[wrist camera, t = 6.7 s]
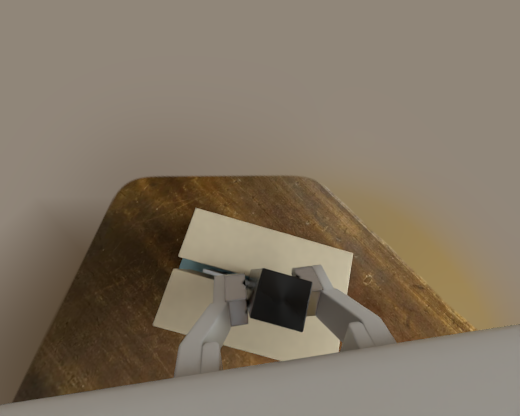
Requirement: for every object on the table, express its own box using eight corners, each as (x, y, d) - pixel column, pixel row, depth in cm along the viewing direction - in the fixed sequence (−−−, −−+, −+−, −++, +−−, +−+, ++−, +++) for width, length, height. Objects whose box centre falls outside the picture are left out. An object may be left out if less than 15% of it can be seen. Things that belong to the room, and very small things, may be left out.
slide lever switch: (162, 317, 20) (129, 338, 14) (200, 212, 23) (186, 190, 17) (313, 359, 21) (347, 398, 14) (332, 251, 24) (368, 243, 17)
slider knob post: (208, 280, 21) (167, 295, 8) (215, 260, 21) (185, 245, 9) (294, 304, 21) (382, 355, 8) (298, 284, 21) (388, 303, 9)
